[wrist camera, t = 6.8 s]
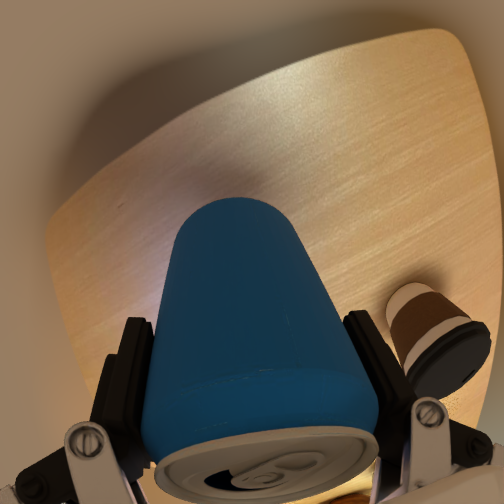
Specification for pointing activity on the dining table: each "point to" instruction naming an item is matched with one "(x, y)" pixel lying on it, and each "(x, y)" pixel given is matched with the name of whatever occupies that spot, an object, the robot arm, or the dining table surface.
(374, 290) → the dining table surface
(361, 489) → the dining table surface
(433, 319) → the coffee cup
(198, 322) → the beverage can
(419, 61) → the dining table surface
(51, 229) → the dining table surface
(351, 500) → the bowl
